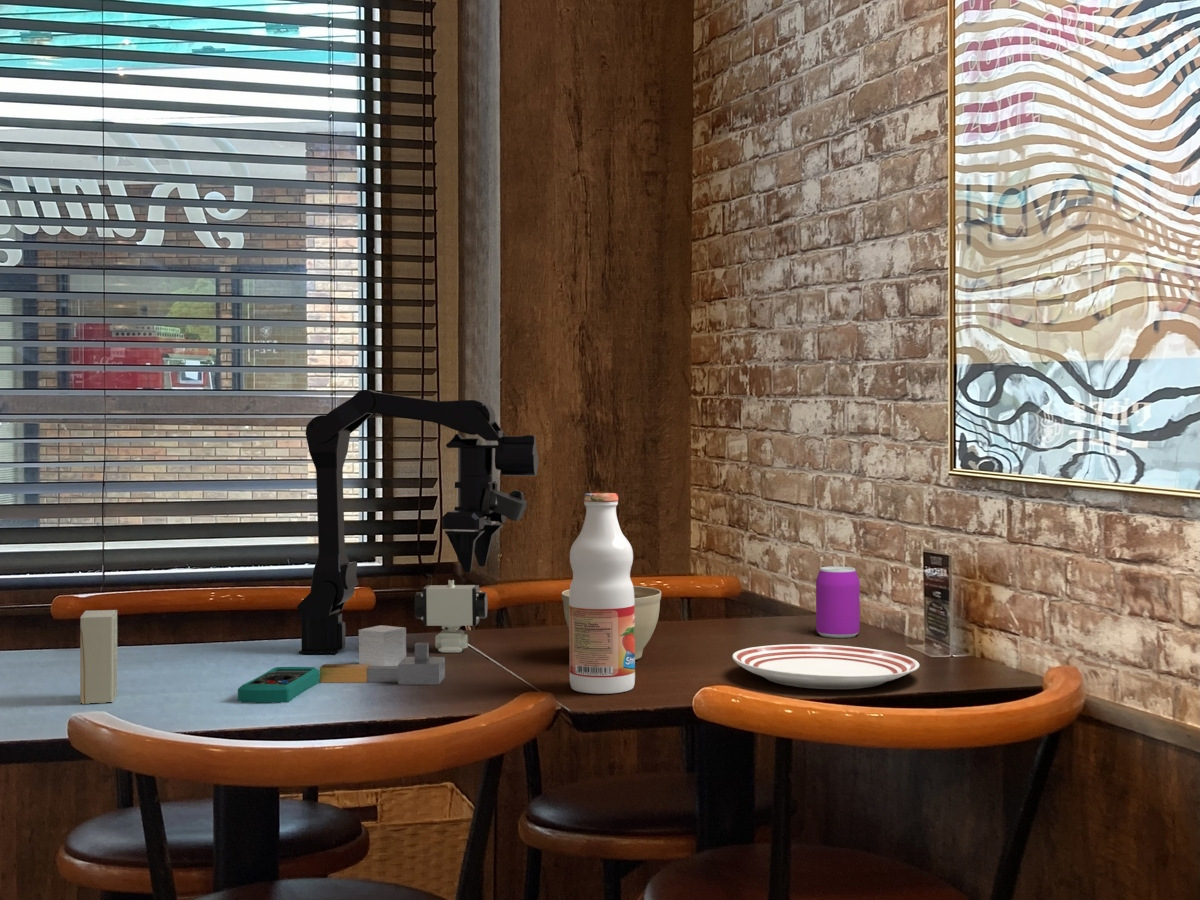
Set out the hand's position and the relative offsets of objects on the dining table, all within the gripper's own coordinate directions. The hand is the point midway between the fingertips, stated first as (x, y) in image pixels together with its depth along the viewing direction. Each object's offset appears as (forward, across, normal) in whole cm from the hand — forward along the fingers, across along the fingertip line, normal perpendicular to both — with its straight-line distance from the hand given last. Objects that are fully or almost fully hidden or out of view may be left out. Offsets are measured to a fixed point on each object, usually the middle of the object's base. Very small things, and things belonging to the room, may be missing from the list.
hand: (475, 569), depth 215 cm
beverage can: (+13, +26, -60) cm, 66 cm away
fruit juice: (+14, -26, -26) cm, 39 cm away
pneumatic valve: (+14, +1, +4) cm, 15 cm away
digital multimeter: (+15, -34, +19) cm, 42 cm away
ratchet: (+14, -25, +7) cm, 29 cm away
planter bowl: (+14, -2, -24) cm, 27 cm away
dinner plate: (+14, -13, -58) cm, 61 cm away
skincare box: (+15, -43, +42) cm, 62 cm away
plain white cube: (+14, -14, +11) cm, 23 cm away
